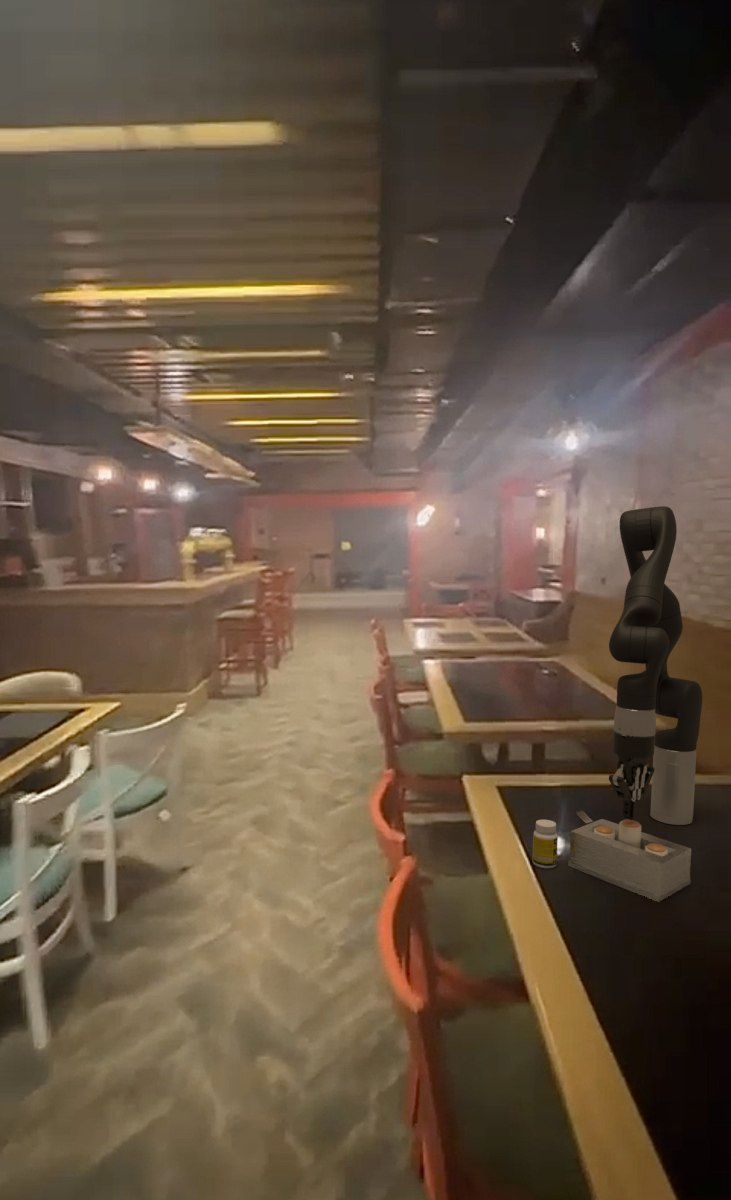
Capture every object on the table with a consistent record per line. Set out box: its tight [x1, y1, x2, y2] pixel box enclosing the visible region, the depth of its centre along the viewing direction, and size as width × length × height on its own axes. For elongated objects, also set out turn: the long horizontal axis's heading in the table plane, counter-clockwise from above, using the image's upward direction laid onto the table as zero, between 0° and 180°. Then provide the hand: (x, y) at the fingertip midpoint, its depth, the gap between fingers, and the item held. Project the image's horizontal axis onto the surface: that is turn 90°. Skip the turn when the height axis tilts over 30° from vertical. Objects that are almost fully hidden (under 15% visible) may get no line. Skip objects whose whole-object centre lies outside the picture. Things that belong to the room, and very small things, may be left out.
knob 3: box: [645, 843, 668, 857], centre depth 139 cm, size 4×4×6 cm
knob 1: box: [594, 826, 615, 840], centre depth 148 cm, size 4×4×6 cm
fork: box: [576, 810, 593, 824], centre depth 167 cm, size 3×16×2 cm, turn 39°
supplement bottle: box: [531, 819, 559, 869], centre depth 148 cm, size 5×5×8 cm
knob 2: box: [618, 818, 642, 849], centre depth 143 cm, size 4×4×6 cm
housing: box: [567, 818, 692, 903], centre depth 143 cm, size 12×19×7 cm, turn 40°
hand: (629, 818), depth 143 cm, fingers closed
